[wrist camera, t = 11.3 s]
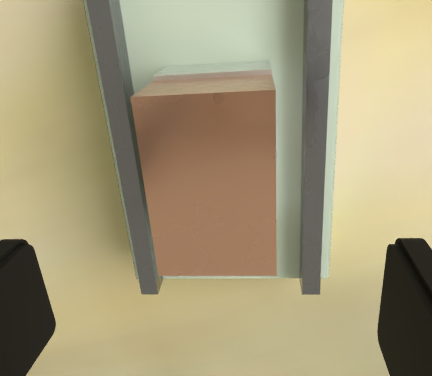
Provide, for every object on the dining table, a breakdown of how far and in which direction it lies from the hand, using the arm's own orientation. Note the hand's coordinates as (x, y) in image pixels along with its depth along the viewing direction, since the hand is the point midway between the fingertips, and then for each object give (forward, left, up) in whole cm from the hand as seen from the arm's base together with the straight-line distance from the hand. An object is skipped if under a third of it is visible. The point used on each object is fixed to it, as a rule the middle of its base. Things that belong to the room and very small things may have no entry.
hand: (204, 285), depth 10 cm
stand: (0, +1, -15) cm, 15 cm away
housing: (0, 0, -12) cm, 12 cm away
